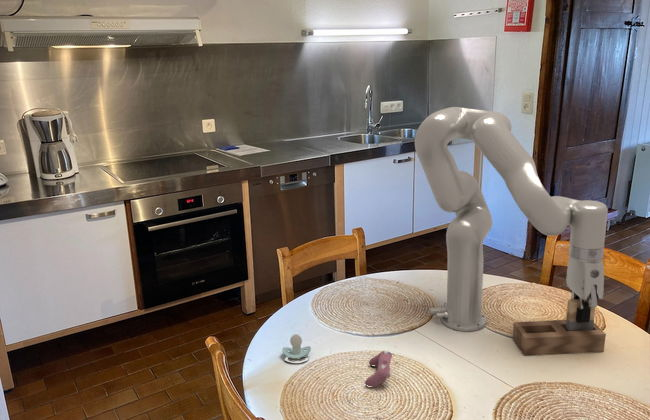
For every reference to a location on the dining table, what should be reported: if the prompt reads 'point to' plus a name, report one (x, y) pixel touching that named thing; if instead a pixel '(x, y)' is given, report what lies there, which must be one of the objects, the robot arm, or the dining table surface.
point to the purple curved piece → (380, 368)
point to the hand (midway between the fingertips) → (580, 318)
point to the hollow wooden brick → (556, 338)
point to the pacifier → (296, 348)
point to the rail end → (571, 317)
